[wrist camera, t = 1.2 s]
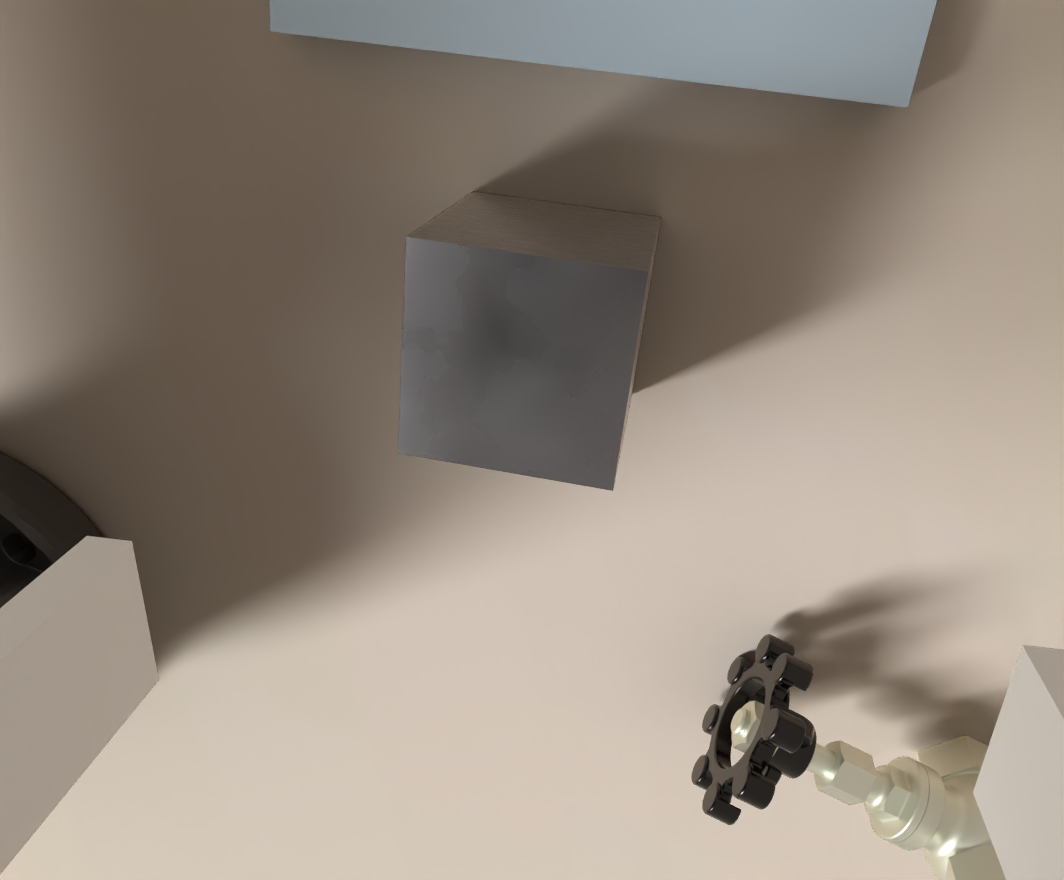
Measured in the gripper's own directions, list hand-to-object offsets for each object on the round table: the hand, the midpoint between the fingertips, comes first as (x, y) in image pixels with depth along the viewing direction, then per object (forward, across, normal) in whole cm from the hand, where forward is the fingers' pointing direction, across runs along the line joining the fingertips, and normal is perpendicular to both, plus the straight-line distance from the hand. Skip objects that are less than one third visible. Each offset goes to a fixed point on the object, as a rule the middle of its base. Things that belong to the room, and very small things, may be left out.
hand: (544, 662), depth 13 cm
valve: (+18, +11, -16) cm, 26 cm away
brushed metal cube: (+17, -2, +1) cm, 17 cm away
